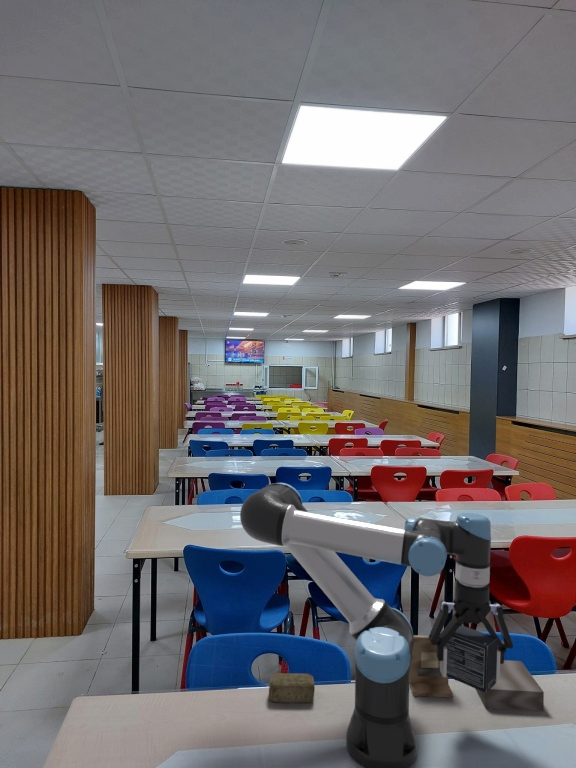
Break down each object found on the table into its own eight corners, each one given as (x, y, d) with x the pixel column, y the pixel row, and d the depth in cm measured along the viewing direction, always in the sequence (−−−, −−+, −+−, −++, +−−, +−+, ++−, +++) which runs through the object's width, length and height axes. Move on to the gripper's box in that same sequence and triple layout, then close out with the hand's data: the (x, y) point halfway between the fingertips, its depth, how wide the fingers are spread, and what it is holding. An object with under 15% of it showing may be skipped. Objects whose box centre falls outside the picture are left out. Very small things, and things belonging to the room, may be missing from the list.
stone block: (315, 704, 125) (315, 684, 125) (268, 705, 125) (268, 684, 125) (313, 690, 131) (313, 671, 131) (269, 690, 130) (269, 671, 130)
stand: (413, 695, 129) (413, 644, 129) (408, 682, 135) (408, 633, 135) (452, 697, 128) (453, 645, 128) (446, 683, 134) (446, 634, 134)
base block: (485, 709, 124) (485, 688, 124) (468, 676, 138) (468, 658, 138) (543, 712, 123) (543, 691, 123) (520, 679, 137) (521, 661, 137)
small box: (497, 682, 116) (499, 637, 116) (486, 694, 112) (488, 647, 112) (454, 664, 124) (455, 621, 124) (441, 674, 119) (443, 630, 119)
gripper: (424, 585, 114) (421, 682, 114) (531, 590, 113) (528, 687, 113) (417, 573, 122) (414, 663, 122) (517, 577, 121) (514, 668, 121)
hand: (469, 675), depth 118 cm, fingers closed on small box, 11 cm apart
